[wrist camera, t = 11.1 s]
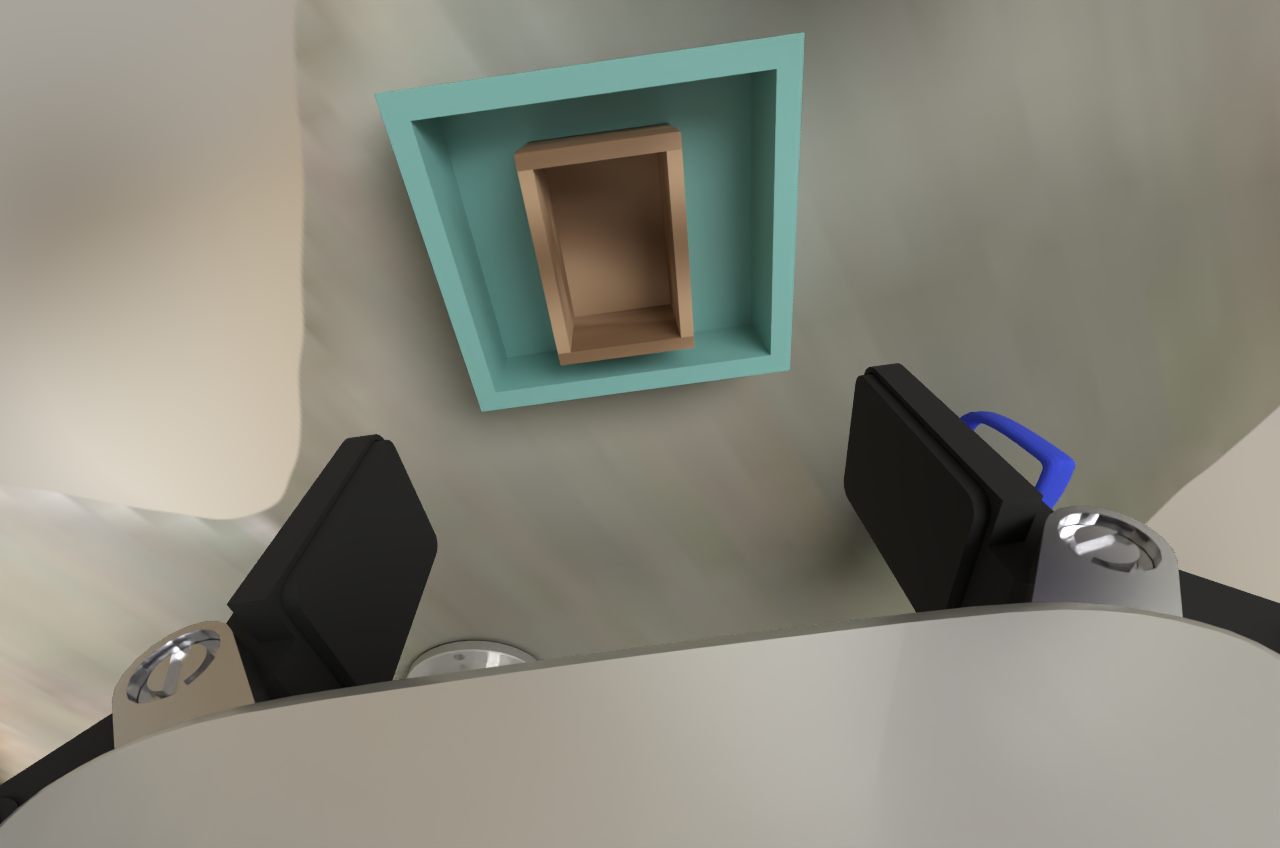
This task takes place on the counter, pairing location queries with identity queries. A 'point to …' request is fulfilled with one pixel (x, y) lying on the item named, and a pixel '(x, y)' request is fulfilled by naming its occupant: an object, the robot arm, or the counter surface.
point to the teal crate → (714, 194)
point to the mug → (1052, 458)
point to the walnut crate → (611, 240)
